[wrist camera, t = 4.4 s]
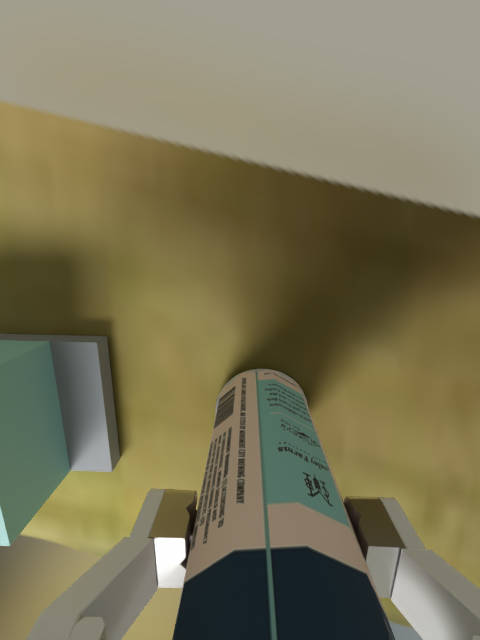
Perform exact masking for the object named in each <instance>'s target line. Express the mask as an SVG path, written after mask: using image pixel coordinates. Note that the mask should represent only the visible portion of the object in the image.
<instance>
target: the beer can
mask: <svg viewBox="0 0 480 640" xmlns="http://www.w3.org/2000/svg"><path fill="white" fill-rule="evenodd" d="M173 640H395V638H394V636H393V633H392V630H391V627H390V625H389V622H388V619H387V617H386V614H385V611H384V609H383V606H382V603H381V601H380V598H379V595H378V593H377V590H376V587H375V585H374V582H373V579H372V577H371V574H370V571H369V568H368V566H367V563H366V561H365V558H364V555H363V553H362V550H361V547H360V545H359V542H358V539H357V536H356V534H355V531H354V528H353V526H352V523H351V521H350V518H349V515H348V513H347V510H346V507H345V505H344V502H343V499H342V496H341V494H340V491H339V488H338V486H337V483H336V480H335V478H334V475H333V472H332V470H331V467H330V464H329V462H328V459H327V456H326V454H325V451H324V448H323V446H322V443H321V440H320V438H319V435H318V432H317V430H316V427H315V424H314V422H313V419H312V416H311V414H310V411H309V408H308V403H307V399H306V397H305V394H304V392H303V390H302V389H301V387H300V386H299V385H298V384H297V383H296V382H295V381H294V380H293V379H292V378H290V377H289V376H287V375H285V374H284V373H282V372H279V371H275V370H271V369H253V370H248V371H245V372H242V373H240V374H238V375H236V376H235V377H233V378H232V379H231V380H230V381H229V382H228V383H226V384H225V385H224V387H223V388H222V390H221V391H220V394H219V396H218V398H217V403H216V417H215V422H214V427H213V432H212V437H211V443H210V448H209V453H208V458H207V463H206V468H205V474H204V479H203V484H202V489H201V494H200V499H199V505H198V510H197V515H196V520H195V526H194V531H193V536H192V541H191V546H190V551H189V557H188V562H187V567H186V572H185V577H184V582H183V587H182V593H181V598H180V603H179V608H178V613H177V618H176V624H175V629H174V634H173Z"/></svg>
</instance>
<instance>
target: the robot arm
mask: <svg viewBox="0 0 480 640" xmlns="http://www.w3.org/2000/svg"><path fill="white" fill-rule="evenodd" d="M196 504H197V492H196V491H189V490H174V489H154V488H151V489H150V491H149V492H148V493H147V496H146V498H145V501H144V503H143V506H142V508H141V510H140V513H139V515H138V518H137V520H136V523H135V525H134V527H133V530H132V532H131V535H130V537H124V538H123V539H122V540H121V541H120V542H119V543H118V544H116V545H115V546H114V547H113V548H112V549H111V550H110V551H109V552H108V553H107V554H105V555H104V556H103V557H102V558H101V559H100V560H99V561H98V562H97V563H96V564H94V565H93V566H92V567H91V568H90V569H89V570H88V571H87V572H86V573H84V574H83V575H82V576H81V577H80V578H79V579H78V580H77V581H76V582H74V583H73V584H72V585H71V586H70V587H69V588H68V589H67V590H66V591H65V592H63V593H62V594H61V595H60V596H59V597H58V598H57V599H56V600H54V601H53V602H52V603H51V604H50V605H49V606H48V607H47V608H46V609H44V610H43V611H42V612H41V614H40V616H39V618H38V620H37V621H36V623H35V624H34V626H33V628H32V630H31V632H30V633H29V635H28V637H27V639H26V640H121V639H122V637H123V636H124V635H125V633H126V632H127V630H128V629H129V628H130V627H131V625H132V624H133V622H134V621H135V619H136V618H137V617H138V615H139V614H140V613H141V611H142V610H143V609H144V607H145V606H146V605H147V603H148V602H149V600H150V599H151V598H152V596H153V595H154V594H155V592H156V591H157V587H169V588H173V587H174V588H182V587H183V582H184V577H185V572H186V567H187V562H188V557H189V551H190V546H191V541H192V536H193V531H194V526H195V520H196V515H197V510H196ZM344 505H345V507H346V510H347V513H348V515H349V518H350V521H351V523H352V526H353V528H354V531H355V534H356V536H357V539H358V542H359V545H360V547H361V550H362V553H363V555H364V558H365V561H366V563H367V566H368V568H369V571H370V574H371V577H372V579H373V582H374V585H375V587H376V590H377V593H378V595H379V597H383V598H391V601H392V602H393V603H394V604H395V606H396V607H397V608H398V609H399V610H400V612H401V613H402V614H403V615H404V617H405V618H406V619H407V620H408V621H409V623H410V624H411V625H412V626H413V628H414V629H415V630H416V631H417V632H418V634H419V635H420V636H421V637H422V639H423V640H480V589H479V588H478V587H477V586H475V585H474V584H473V583H472V582H470V581H469V580H468V579H467V578H465V577H464V576H463V575H462V574H461V573H459V572H458V571H457V570H456V569H454V568H453V567H452V566H451V565H449V564H448V563H447V562H446V561H445V560H443V559H442V558H441V557H440V556H438V555H437V554H436V553H435V552H433V551H432V550H426V548H425V546H424V545H423V543H422V541H421V540H420V538H419V536H418V535H417V533H416V531H415V530H414V528H413V526H412V525H411V523H410V521H409V520H408V518H407V516H406V515H405V513H404V511H403V510H402V508H401V506H400V505H399V503H398V501H397V500H396V499H395V498H391V497H356V496H346V497H345V499H344Z"/></svg>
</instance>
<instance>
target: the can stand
mask: <svg viewBox="0 0 480 640" xmlns="http://www.w3.org/2000/svg"><path fill="white" fill-rule="evenodd" d="M119 460H120V452H119V443H118V433H117V424H116V415H115V405H114V396H113V387H112V377H111V368H110V359H109V349H108V340H107V336H78V335H38V334H0V546H10V545H11V544H12V543H13V542H14V540H15V539H16V538H17V537H18V535H19V534H20V533H21V532H22V530H23V529H24V528H25V527H26V525H27V524H28V523H29V522H30V520H31V519H32V518H33V517H34V515H35V514H36V513H37V512H38V510H39V509H40V508H41V506H42V505H43V504H44V503H45V501H46V500H47V499H48V498H49V496H50V495H51V494H52V493H53V491H54V490H55V489H56V488H57V486H58V485H59V484H60V483H61V481H62V480H63V479H64V478H65V476H66V475H67V474H68V473H69V471H70V470H73V471H101V472H112V471H113V470H114V468H115V466H116V465H117V463H118V461H119Z"/></svg>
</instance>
